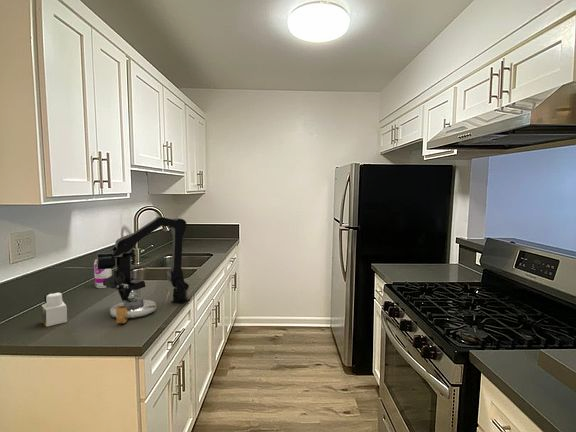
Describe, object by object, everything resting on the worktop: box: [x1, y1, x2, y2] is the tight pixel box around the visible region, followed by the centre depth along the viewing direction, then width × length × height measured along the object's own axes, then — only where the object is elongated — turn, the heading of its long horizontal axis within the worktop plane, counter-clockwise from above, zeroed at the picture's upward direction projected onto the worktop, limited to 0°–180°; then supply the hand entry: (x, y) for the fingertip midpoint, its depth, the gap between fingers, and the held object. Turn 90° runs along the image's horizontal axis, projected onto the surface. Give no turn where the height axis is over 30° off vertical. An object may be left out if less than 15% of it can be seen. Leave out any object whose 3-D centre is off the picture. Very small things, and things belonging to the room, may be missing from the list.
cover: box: [122, 296, 145, 310], centre depth 151 cm, size 8×8×4 cm
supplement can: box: [93, 258, 113, 289], centre depth 190 cm, size 8×8×15 cm
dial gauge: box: [128, 290, 139, 298], centre depth 164 cm, size 4×4×6 cm
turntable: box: [109, 299, 157, 324], centre depth 149 cm, size 23×18×6 cm
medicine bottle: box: [41, 291, 68, 328], centre depth 140 cm, size 7×7×12 cm
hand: (124, 302), depth 153 cm, fingers closed
